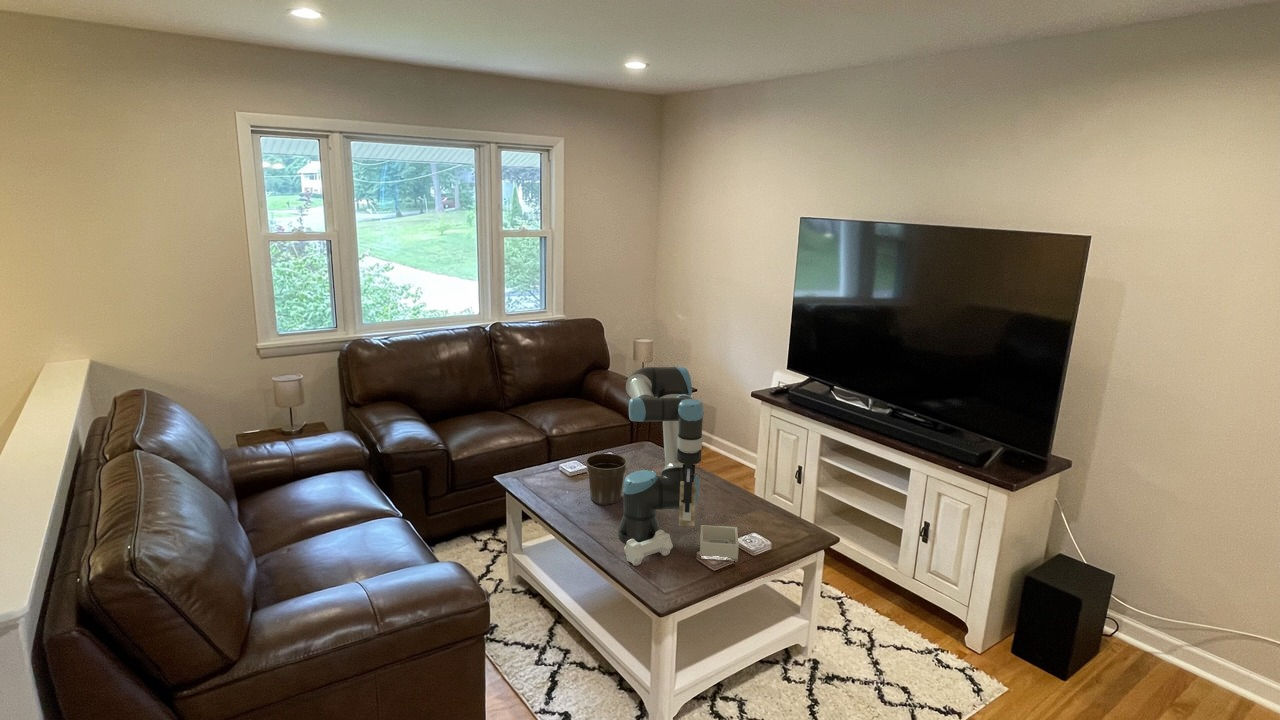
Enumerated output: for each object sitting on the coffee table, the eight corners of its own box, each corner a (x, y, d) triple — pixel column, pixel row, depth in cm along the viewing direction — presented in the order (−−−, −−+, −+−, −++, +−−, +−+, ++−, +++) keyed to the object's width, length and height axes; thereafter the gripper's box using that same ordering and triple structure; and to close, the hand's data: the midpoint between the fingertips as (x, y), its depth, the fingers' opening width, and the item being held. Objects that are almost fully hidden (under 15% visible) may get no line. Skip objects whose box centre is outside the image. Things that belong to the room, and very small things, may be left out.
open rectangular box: (699, 559, 224) (700, 543, 223) (700, 540, 237) (700, 524, 235) (737, 561, 223) (738, 545, 222) (736, 542, 235) (737, 527, 234)
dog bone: (659, 548, 232) (658, 525, 231) (674, 557, 225) (673, 534, 224) (623, 560, 224) (622, 537, 223) (637, 570, 217) (636, 546, 216)
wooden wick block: (678, 525, 214) (680, 485, 211) (679, 521, 217) (680, 481, 214) (694, 526, 214) (696, 486, 210) (694, 521, 217) (696, 482, 213)
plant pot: (628, 490, 275) (629, 454, 271) (624, 508, 259) (624, 470, 255) (589, 488, 276) (589, 451, 272) (582, 506, 261) (582, 467, 257)
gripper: (701, 459, 201) (698, 530, 207) (701, 440, 217) (699, 506, 222) (676, 458, 202) (674, 528, 208) (678, 439, 217) (676, 505, 223)
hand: (686, 517), depth 215 cm, fingers closed on wooden wick block, 3 cm apart
